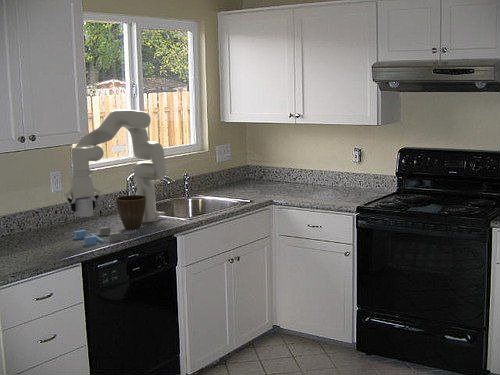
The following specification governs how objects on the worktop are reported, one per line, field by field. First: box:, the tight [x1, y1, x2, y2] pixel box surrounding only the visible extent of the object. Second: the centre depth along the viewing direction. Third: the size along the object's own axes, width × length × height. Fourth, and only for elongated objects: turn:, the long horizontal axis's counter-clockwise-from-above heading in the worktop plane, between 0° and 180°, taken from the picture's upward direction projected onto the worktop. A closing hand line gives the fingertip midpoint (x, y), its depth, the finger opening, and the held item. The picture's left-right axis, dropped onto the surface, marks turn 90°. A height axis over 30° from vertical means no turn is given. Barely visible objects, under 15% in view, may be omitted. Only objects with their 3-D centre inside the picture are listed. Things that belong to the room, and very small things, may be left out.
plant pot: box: [115, 194, 146, 231], centre depth 355 cm, size 15×15×16 cm
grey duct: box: [98, 226, 130, 242], centre depth 338 cm, size 8×18×4 cm, turn 30°
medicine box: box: [73, 197, 94, 218], centre depth 329 cm, size 8×4×9 cm, turn 74°
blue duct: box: [74, 229, 105, 246], centre depth 332 cm, size 8×18×4 cm, turn 30°
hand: (83, 210), depth 330 cm, fingers closed on medicine box, 8 cm apart
